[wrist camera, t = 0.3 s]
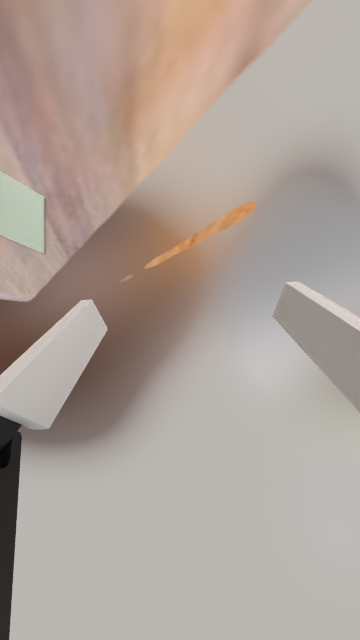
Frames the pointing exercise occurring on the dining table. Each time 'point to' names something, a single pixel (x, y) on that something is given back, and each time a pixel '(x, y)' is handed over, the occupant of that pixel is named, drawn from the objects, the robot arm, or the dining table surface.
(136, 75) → the dining table surface
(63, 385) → the robot arm
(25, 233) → the pad
